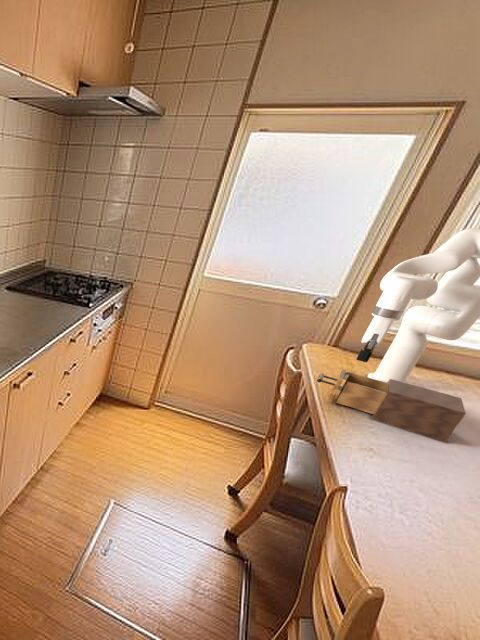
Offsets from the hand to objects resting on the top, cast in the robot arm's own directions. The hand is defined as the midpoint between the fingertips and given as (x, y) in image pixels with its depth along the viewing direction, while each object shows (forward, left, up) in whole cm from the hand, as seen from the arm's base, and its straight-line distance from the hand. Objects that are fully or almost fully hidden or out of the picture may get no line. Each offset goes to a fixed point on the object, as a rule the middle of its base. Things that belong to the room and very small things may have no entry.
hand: (361, 360), depth 155 cm
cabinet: (+13, +18, -13) cm, 26 cm away
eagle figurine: (-4, +2, -13) cm, 14 cm away
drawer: (+13, +2, -12) cm, 18 cm away
